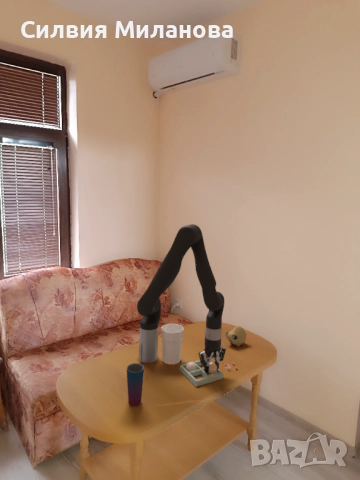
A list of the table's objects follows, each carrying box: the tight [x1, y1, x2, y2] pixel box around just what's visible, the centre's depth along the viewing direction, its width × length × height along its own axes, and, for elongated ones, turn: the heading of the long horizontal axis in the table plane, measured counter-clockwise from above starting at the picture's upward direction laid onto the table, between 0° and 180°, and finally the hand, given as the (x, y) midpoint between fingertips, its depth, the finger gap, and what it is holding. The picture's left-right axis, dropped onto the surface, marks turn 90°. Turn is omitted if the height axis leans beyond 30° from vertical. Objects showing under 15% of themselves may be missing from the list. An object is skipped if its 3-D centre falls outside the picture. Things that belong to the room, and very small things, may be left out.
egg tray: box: [179, 359, 224, 387], centre depth 150 cm, size 15×15×3 cm
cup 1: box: [126, 362, 145, 407], centre depth 128 cm, size 7×7×15 cm
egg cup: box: [223, 362, 238, 372], centre depth 157 cm, size 6×6×2 cm
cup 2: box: [160, 323, 185, 366], centre depth 161 cm, size 11×11×17 cm
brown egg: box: [208, 361, 217, 375], centre depth 148 cm, size 5×5×5 cm
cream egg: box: [186, 361, 197, 372], centre depth 151 cm, size 5×5×5 cm
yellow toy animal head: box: [224, 325, 247, 347], centre depth 181 cm, size 10×12×11 cm
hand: (211, 370), depth 148 cm, fingers closed on brown egg, 4 cm apart
